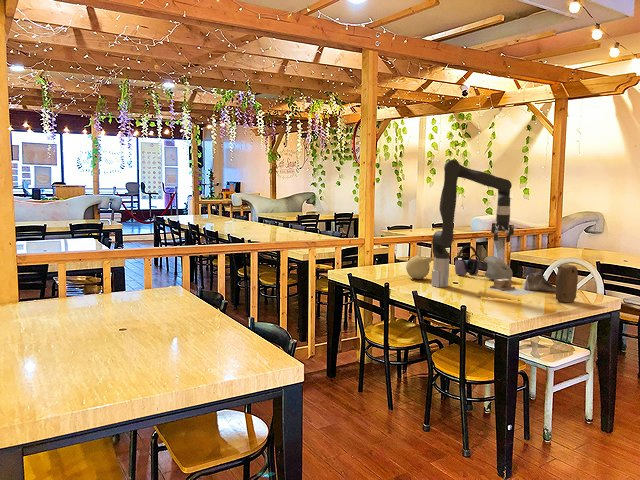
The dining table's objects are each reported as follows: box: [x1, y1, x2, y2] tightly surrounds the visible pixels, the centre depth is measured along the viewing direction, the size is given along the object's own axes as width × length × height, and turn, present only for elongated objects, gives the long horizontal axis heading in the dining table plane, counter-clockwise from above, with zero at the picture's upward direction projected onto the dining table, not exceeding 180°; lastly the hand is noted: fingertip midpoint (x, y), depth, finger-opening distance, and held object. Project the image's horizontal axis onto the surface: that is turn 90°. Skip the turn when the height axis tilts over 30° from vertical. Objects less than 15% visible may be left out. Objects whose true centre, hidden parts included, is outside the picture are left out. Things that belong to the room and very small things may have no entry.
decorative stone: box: [483, 255, 513, 281], centre depth 334 cm, size 12×17×15 cm
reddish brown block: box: [493, 279, 512, 290], centre depth 302 cm, size 9×5×5 cm, turn 121°
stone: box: [554, 263, 579, 303], centre depth 276 cm, size 12×7×20 cm, turn 122°
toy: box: [405, 253, 433, 280], centre depth 336 cm, size 17×15×15 cm
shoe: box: [522, 272, 556, 294], centre depth 296 cm, size 25×11×12 cm, turn 56°
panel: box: [486, 284, 537, 296], centre depth 298 cm, size 16×22×4 cm
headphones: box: [454, 245, 481, 277], centre depth 353 cm, size 9×17×20 cm, turn 120°
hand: (501, 241), depth 306 cm, fingers open, 8 cm apart
